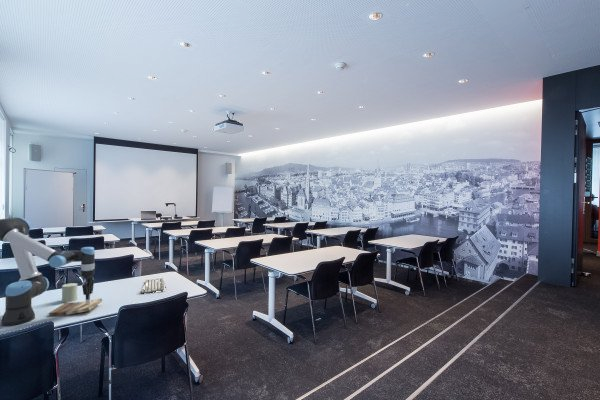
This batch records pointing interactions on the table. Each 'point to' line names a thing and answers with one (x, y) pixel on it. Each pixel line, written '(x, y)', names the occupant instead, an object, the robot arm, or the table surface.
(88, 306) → the oak plank
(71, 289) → the can
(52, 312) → the walnut board
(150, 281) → the mechanical keyboard
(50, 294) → the table surface
